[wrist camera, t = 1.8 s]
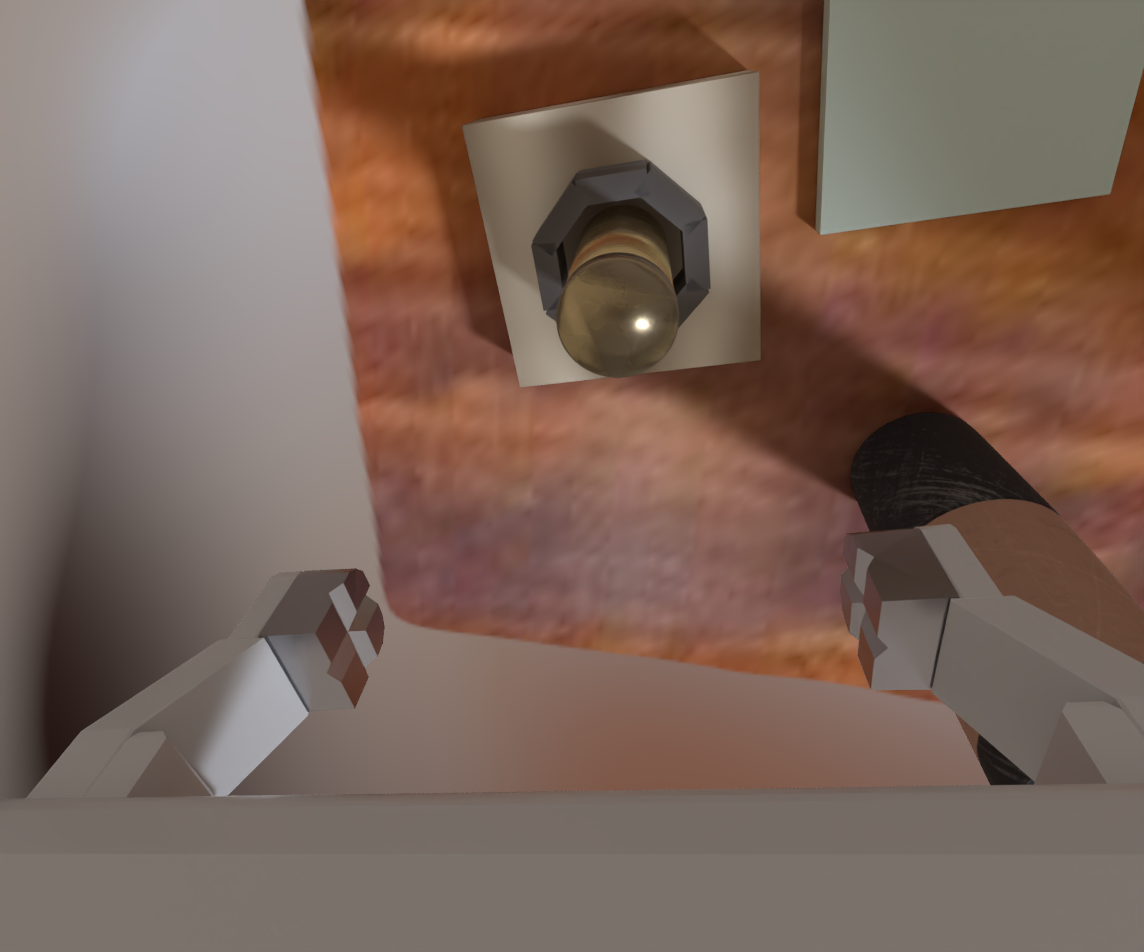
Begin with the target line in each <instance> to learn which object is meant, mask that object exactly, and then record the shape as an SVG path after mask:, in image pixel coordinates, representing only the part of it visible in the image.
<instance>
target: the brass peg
mask: <svg viewBox="0 0 1144 952" xmlns="http://www.w3.org/2000/svg"><path fill="white" fill-rule="evenodd" d="M556 325H557V331H558V335H559V338H560V341H561V343H562V345H563V347H564V349H565V350H566V352H567V353H568V354H569V356H570V357H571V358H572V359H573V360H574V361H575V362H576V363H577V364H579V365H580V366H581V367H583V368H584V369H586V370H588V371H590V372H592V373H594V374H597V375H600V376H605V377H612V378H622V377H629V376H634V375H637V374H640V373H642V372H645V371H647V370H648V369H650V368H652V367H653V366H655V365H656V364H657V363H658V362H660V361H661V360H662V359H663V358H664V356H665V355H666V354H667V353H668V351H669V350H670V348H671V346H672V345H673V343H674V340H675V338H676V335H677V331H678V326H679V310H678V303H677V297H676V294H675V290H674V286H673V280H672V273H671V266H670V259H669V253H668V246H667V239H666V236H665V233H664V230H663V228H662V227H661V225H660V223H659V222H658V221H657V219H656V218H655V217H654V216H653V215H651V214H650V213H649V212H647V211H646V210H644V209H642V208H639V207H637V206H632V205H615V206H611V207H608V208H606V209H604V210H602V211H600V212H599V213H597V214H596V215H595V216H594V217H593V218H592V219H591V220H590V221H589V222H588V223H587V225H586V227H585V228H584V230H583V232H582V235H581V238H580V241H579V244H578V247H577V250H576V253H575V257H574V260H573V263H572V266H571V269H570V272H569V276H568V279H567V282H566V284H565V286H564V288H563V290H562V293H561V296H560V299H559V302H558V306H557V312H556Z"/></svg>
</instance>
